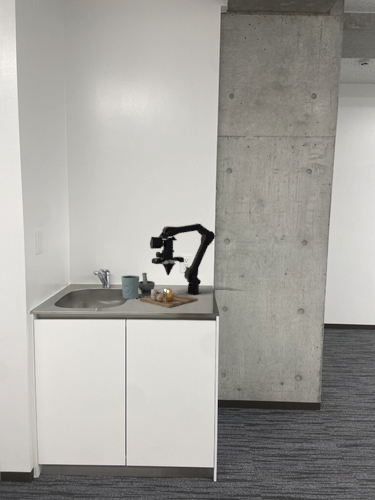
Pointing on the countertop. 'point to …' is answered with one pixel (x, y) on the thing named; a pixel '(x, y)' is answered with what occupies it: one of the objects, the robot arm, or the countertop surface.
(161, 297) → the dough ball
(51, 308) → the countertop surface
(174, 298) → the board
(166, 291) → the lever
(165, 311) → the countertop surface
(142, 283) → the mortar and pestle
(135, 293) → the teal ceramic pot
